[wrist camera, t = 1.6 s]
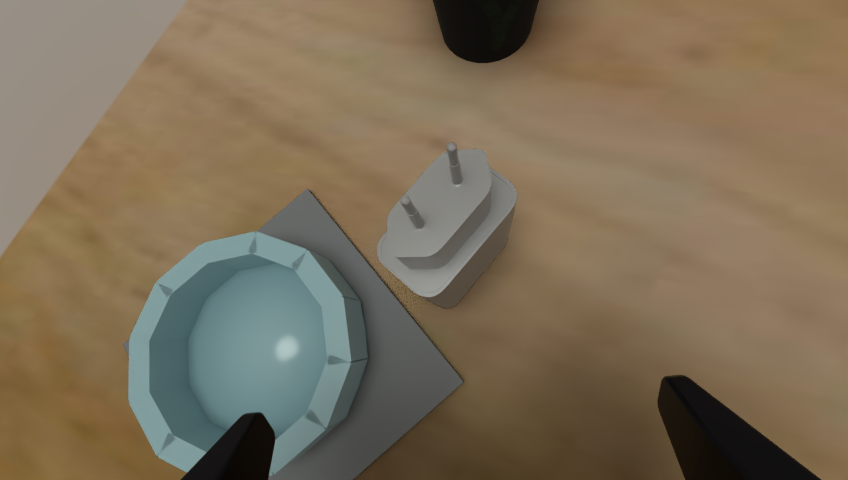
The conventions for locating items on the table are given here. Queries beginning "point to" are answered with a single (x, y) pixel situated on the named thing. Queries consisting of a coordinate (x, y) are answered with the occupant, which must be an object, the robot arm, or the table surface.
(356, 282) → the mat
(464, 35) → the cup
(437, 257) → the power adapter
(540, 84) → the table surface
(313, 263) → the bowl
